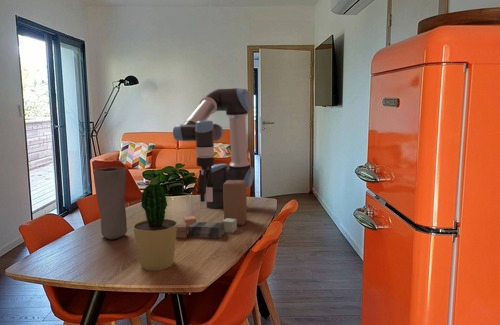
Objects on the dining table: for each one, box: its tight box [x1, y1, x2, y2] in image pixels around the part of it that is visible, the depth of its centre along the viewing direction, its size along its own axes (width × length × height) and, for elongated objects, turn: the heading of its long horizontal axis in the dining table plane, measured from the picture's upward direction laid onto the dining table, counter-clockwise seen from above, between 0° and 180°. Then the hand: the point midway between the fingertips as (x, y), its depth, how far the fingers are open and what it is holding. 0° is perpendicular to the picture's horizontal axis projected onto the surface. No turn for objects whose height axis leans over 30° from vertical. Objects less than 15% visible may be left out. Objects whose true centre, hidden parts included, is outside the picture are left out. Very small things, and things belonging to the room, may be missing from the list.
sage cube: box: [221, 218, 238, 233], centre depth 187 cm, size 5×5×5 cm
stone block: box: [187, 221, 226, 239], centre depth 182 cm, size 9×14×5 cm, turn 74°
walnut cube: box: [176, 223, 188, 239], centre depth 180 cm, size 5×5×5 cm
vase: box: [93, 167, 128, 240], centre depth 178 cm, size 12×12×30 cm
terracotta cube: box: [182, 215, 197, 231], centre depth 192 cm, size 5×5×5 cm
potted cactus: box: [132, 183, 178, 271], centre depth 147 cm, size 15×15×30 cm
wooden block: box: [223, 180, 248, 226], centre depth 199 cm, size 10×10×20 cm
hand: (206, 205), depth 181 cm, fingers open, 13 cm apart
